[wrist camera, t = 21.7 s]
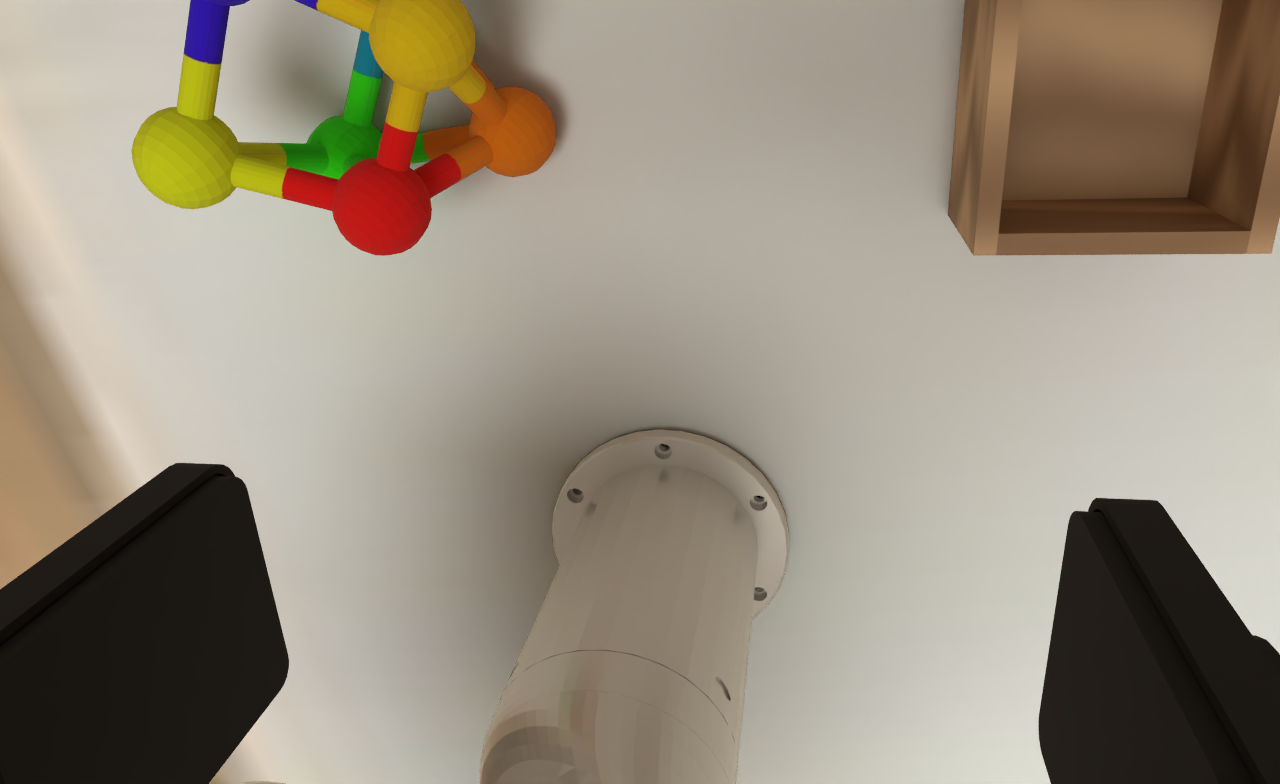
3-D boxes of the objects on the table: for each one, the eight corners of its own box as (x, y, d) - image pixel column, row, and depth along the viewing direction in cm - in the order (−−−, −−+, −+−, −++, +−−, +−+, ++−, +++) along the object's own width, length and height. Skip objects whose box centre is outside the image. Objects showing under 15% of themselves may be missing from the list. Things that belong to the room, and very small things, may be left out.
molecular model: (613, 131, 42) (416, 372, 35) (425, 106, 48) (224, 308, 41) (492, -238, 31) (168, 7, 24) (266, -211, 36) (-45, -8, 30)
